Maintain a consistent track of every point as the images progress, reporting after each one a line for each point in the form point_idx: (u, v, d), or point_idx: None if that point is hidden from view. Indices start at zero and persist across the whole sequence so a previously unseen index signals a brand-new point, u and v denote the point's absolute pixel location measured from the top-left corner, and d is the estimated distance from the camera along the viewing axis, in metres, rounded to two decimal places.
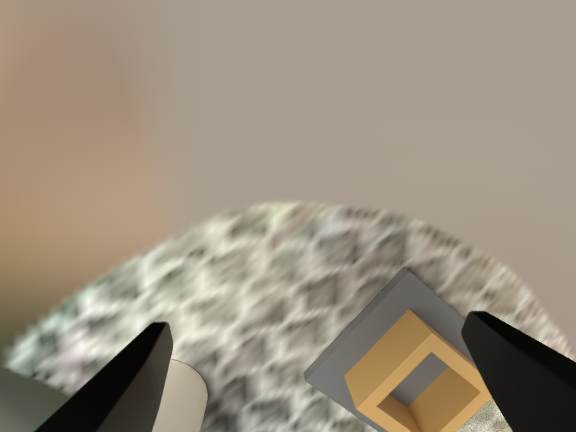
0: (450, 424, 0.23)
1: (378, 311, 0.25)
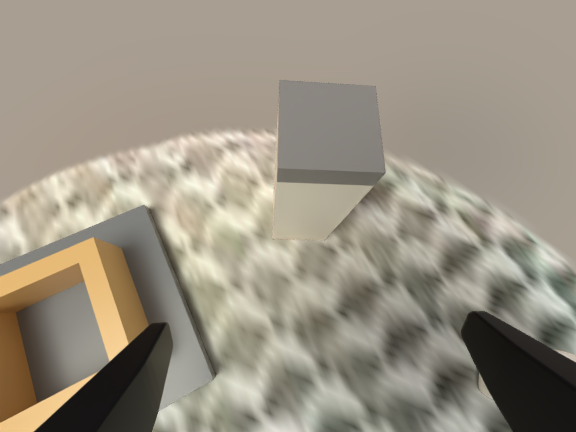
0: (101, 319, 0.16)
1: None
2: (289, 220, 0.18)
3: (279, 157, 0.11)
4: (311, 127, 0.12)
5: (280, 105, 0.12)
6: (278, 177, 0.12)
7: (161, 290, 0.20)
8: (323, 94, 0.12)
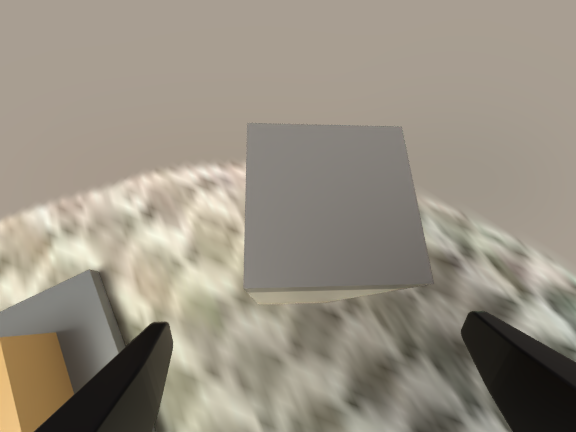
0: None
1: None
2: (277, 300, 0.13)
3: (246, 266, 0.06)
4: (301, 204, 0.07)
5: (248, 167, 0.07)
6: (248, 291, 0.07)
7: None
8: (319, 144, 0.07)
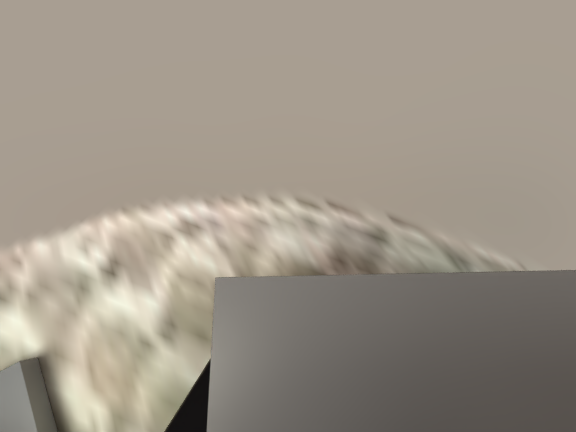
0: None
1: None
2: None
3: None
4: None
5: None
6: None
7: None
8: (420, 344, 0.03)
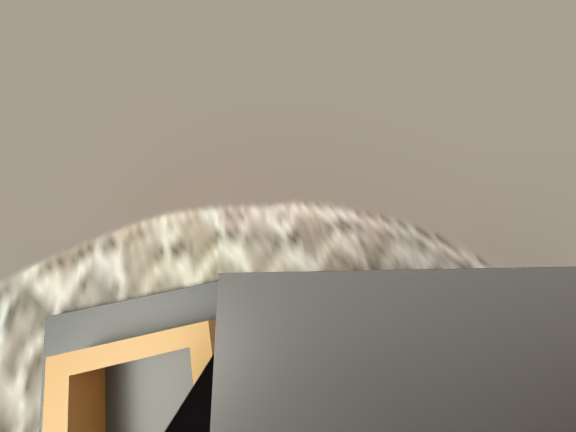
0: None
1: None
2: None
3: None
4: None
5: None
6: None
7: None
8: (421, 340, 0.03)
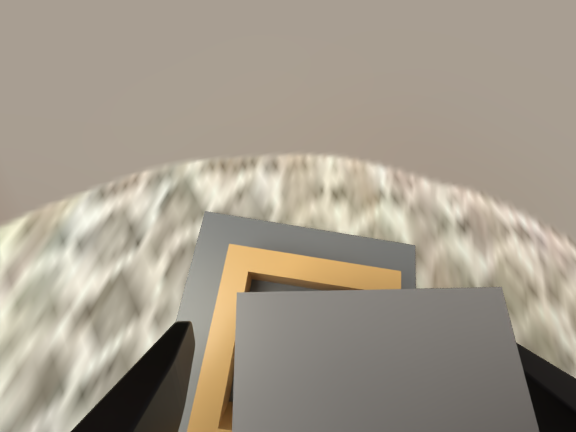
0: None
1: (194, 283, 0.16)
2: None
3: None
4: None
5: (237, 392, 0.04)
6: None
7: None
8: (363, 334, 0.04)
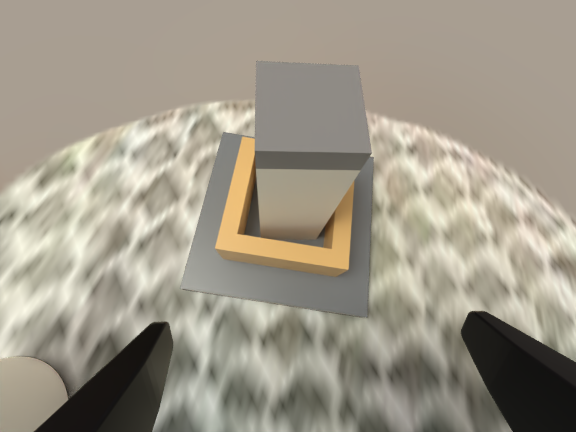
0: (338, 214, 0.19)
1: (217, 176, 0.23)
2: (275, 216, 0.17)
3: (256, 139, 0.10)
4: (290, 108, 0.11)
5: (257, 86, 0.11)
6: (256, 162, 0.11)
7: (358, 225, 0.23)
8: (303, 74, 0.11)
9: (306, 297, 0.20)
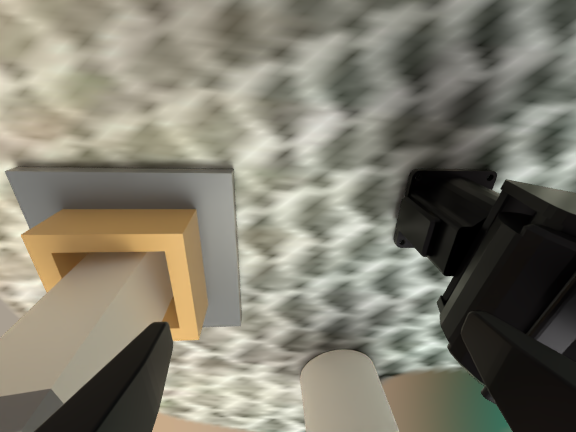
0: (119, 248, 0.16)
1: None
2: None
3: None
4: None
5: None
6: None
7: (124, 187, 0.18)
8: None
9: (225, 234, 0.20)
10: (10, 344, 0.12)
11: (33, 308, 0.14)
